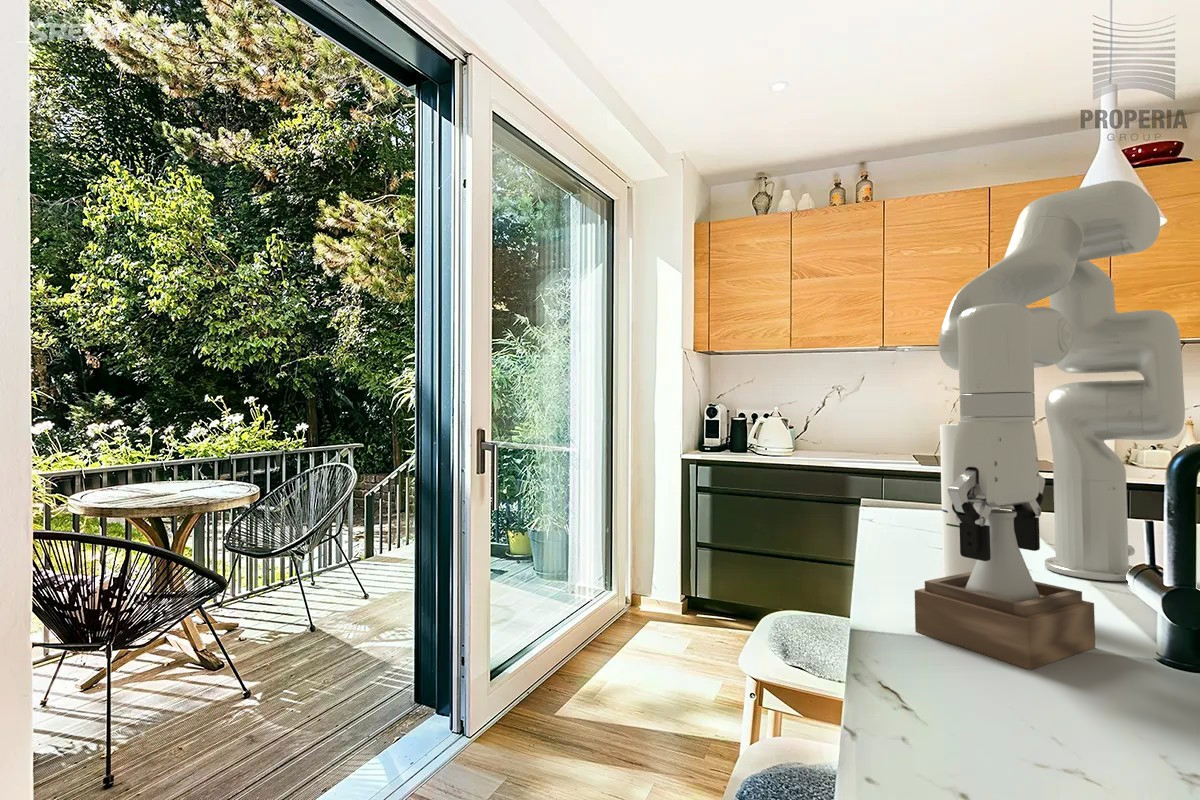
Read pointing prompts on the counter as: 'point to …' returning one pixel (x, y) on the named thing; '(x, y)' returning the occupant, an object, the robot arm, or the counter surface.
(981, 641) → the tray
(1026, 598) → the flask
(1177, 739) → the counter surface
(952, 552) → the cylindrical container
